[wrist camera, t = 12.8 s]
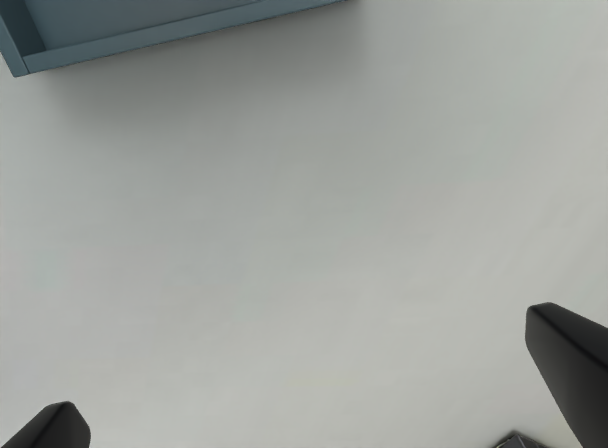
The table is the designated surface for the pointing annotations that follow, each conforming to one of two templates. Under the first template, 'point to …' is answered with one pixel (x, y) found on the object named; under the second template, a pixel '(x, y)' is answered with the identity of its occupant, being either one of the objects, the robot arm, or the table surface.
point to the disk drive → (520, 443)
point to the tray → (117, 26)
